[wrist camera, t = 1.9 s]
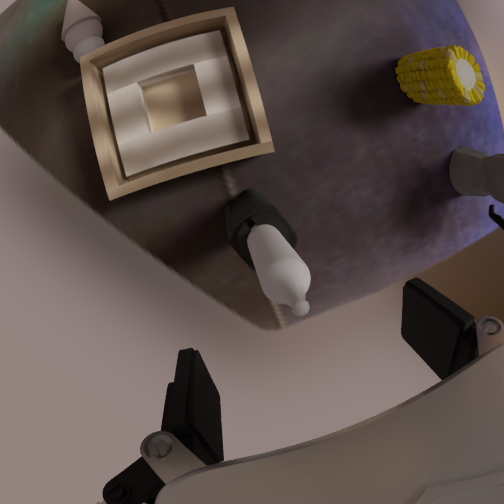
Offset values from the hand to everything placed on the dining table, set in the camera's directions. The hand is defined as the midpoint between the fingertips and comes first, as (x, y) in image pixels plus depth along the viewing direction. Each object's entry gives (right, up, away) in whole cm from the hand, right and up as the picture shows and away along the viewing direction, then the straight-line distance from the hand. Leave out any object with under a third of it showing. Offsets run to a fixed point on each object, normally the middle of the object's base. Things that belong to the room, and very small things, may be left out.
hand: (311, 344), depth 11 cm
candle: (-3, +9, +25) cm, 27 cm away
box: (-12, +23, +19) cm, 32 cm away
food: (+23, +31, +21) cm, 44 cm away
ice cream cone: (-26, +36, +13) cm, 47 cm away
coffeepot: (+36, +18, +27) cm, 48 cm away
